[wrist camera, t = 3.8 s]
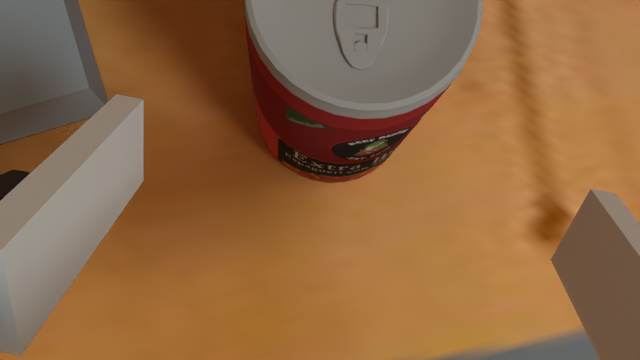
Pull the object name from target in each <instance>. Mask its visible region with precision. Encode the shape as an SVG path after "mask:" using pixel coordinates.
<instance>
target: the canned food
mask: <svg viewBox="0 0 640 360" xmlns="http://www.w3.org/2000/svg"><path fill="white" fill-rule="evenodd" d="M482 3H483V1H482V0H244V4H245V21H246V35H247V43H248V51H249V59H250V67H251V75H252V83H253V91H254V99H255V107H256V115H257V119H258V124H259V128H260V131H261V133H262V136H263V138H264V140H265V142H266V144H267V146H268V147H269V148H270V150H271V151H272V153H273V154H274V155H275V157H276V158H277V159H278V160H280V161H281V162H282V163H283V164H284V165H285V166H286V167H287V168H289V169H291V170H292V171H294V172H295V173H297V174H299V175H301V176H303V177H306V178H309V179H311V180H315V181H321V182H327V183H335V182H346V181H350V180H354V179H358V178H360V177H363V176H365V175H367V174H369V173H371V172H372V171H374V170H375V169H376V168H378V167H379V166H380V165H382V164H383V163H384V162H385V161H386V159H387V158H388V157H389V156H390V155H391V154H392V153H393V151H394V150H395V149H396V148H397V147H398V146H399V144H400V143H401V142H402V141H403V140H404V139H405V137H406V136H407V135H408V134H409V133H410V132H411V130H412V129H413V128H414V127H415V126H416V125H417V123H418V122H419V121H420V120H421V119H422V118H423V116H424V115H425V114H426V113H427V112H428V111H429V109H430V108H431V107H432V106H433V105H434V104H435V102H436V101H437V100H438V99H439V98H440V97H441V95H442V94H443V93H444V92H445V91H446V90H447V88H448V87H449V86H450V84H451V83H452V81H453V80H454V79H455V78H456V77H457V76H458V74H459V73H460V72H461V70H462V68H463V66H464V64H465V62H466V60H467V59H468V57H469V55H470V53H471V51H472V49H473V47H474V45H475V43H476V39H477V36H478V32H479V29H480V25H481V17H482Z"/></svg>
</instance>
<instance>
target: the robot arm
mask: <svg viewBox="0 0 640 360" xmlns="http://www.w3.org/2000/svg"><path fill="white" fill-rule="evenodd" d="M143 147H144V99H139V98H134V97H129V96H124V95H119V94H116V95H115V96H114V97H113V98H112V99H111V100H110V101H108V102H107V103H106V104H105V105H104V106H103V107H102V108H101V109H100V110H99V111H98V112H96V113H95V114H94V115H93V116H92V117H91V118H90V119H89V120H88V121H87V122H86V123H84V124H83V125H82V126H81V127H80V128H79V129H78V130H77V131H76V132H75V133H74V134H72V135H71V136H70V137H69V138H68V139H67V140H66V141H65V142H64V143H63V144H62V145H60V146H59V147H58V148H57V149H56V150H55V151H54V152H53V153H52V154H51V155H50V156H48V157H47V158H46V159H45V160H44V161H43V162H42V163H41V164H40V165H39V166H38V167H37V168H35V169H34V170H33V171H32V172H31V173H29V172H23V171H18V170H11V171H9V172H6V173H4V174H2V175H0V352H6V353H11V354H17V355H22V354H23V353H24V351H25V350H26V348H27V347H28V345H29V344H30V343H31V341H32V340H33V338H34V337H35V335H36V334H37V333H38V331H39V330H40V328H41V327H42V325H43V324H44V323H45V321H46V320H47V318H48V317H49V315H50V314H51V312H52V311H53V310H54V308H55V307H56V305H57V304H58V302H59V301H60V300H61V298H62V297H63V295H64V294H65V292H66V291H67V290H68V288H69V287H70V285H71V284H72V282H73V281H74V280H75V278H76V277H77V275H78V274H79V272H80V271H81V270H82V268H83V267H84V265H85V264H86V262H87V261H88V260H89V258H90V257H91V255H92V254H93V252H94V251H95V249H96V248H97V247H98V245H99V244H100V242H101V241H102V239H103V238H104V237H105V235H106V234H107V232H108V231H109V229H110V228H111V227H112V225H113V224H114V222H115V221H116V219H117V218H118V217H119V215H120V214H121V212H122V211H123V209H124V208H125V207H126V205H127V204H128V202H129V201H130V199H131V198H132V197H133V195H134V194H135V192H136V191H137V189H138V188H139V186H140V185H141V184H142V182H143ZM551 261H552V263H553V265H554V267H555V269H556V271H557V273H558V275H559V277H560V279H561V281H562V283H563V285H564V287H565V289H566V292H567V294H568V296H569V298H570V300H571V302H572V304H573V306H574V308H575V310H576V312H577V314H578V316H579V318H580V320H581V322H582V324H583V326H584V328H585V330H586V332H587V334H588V337H589V339H590V340H591V343H592V345H593V347H594V349H595V350H596V353H597V355H598V357H599V359H600V360H640V224H639V222H638V221H637V220H636V219H635V217H634V216H633V215H632V213H631V212H630V211H629V210H628V208H627V207H626V206H625V205H624V203H623V202H622V201H621V200H620V198H619V197H618V196H617V195H616V194H614V193H609V192H604V191H599V190H594V189H590V191H589V193H588V195H587V196H586V198H585V200H584V202H583V204H582V205H581V207H580V209H579V211H578V212H577V214H576V216H575V218H574V220H573V221H572V223H571V225H570V227H569V228H568V230H567V232H566V234H565V235H564V237H563V239H562V241H561V243H560V244H559V246H558V248H557V250H556V251H555V253H554V255H553V257H552V259H551Z"/></svg>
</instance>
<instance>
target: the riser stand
mask: <svg viewBox="0 0 640 360" xmlns="http://www.w3.org/2000/svg"><path fill="white" fill-rule="evenodd" d="M107 102H108V100H107V97H106V94H105V90H104V87H103V84H102V80H101V77H100V74H99V70H98V67H97V64H96V60H95V57H94V54H93V50H92V47H91V44H90V40H89V37H88V34H87V30H86V27H85V24H84V20H83V17H82V14H81V10H80V7H79V4H78V0H0V144H3V143H6V142H9V141H13V140H16V139H19V138H23V137H26V136H29V135H33V134H36V133H40V132H43V131H46V130H50V129H53V128H56V127H60V126H63V125H66V124H70V123H73V122H76V121H80V120H83V119H87V118H90V117H92V116H93V115H94V114H95V113H96V112H98V111H99V110H100V109H101V108H102V107H103V106H104V105H105V104H106V103H107Z"/></svg>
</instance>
